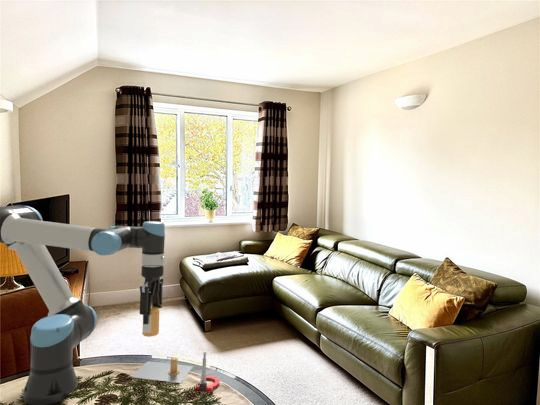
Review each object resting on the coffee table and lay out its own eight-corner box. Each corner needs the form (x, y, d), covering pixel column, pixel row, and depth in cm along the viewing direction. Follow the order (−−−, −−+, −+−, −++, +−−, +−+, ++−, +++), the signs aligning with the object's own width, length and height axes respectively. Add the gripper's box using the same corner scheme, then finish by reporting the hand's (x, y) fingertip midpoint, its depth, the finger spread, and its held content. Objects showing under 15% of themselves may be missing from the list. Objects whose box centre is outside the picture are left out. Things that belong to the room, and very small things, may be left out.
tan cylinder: (140, 335, 129) (141, 310, 129) (147, 330, 135) (148, 305, 134) (154, 337, 129) (154, 311, 128) (160, 331, 134) (161, 307, 134)
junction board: (130, 381, 127) (131, 362, 127) (147, 365, 139) (147, 348, 138) (180, 387, 124) (181, 368, 124) (193, 370, 136) (193, 353, 136)
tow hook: (199, 377, 132) (189, 390, 123) (201, 341, 132) (191, 351, 123) (222, 380, 130) (214, 393, 121) (223, 344, 131) (216, 354, 121)
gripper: (150, 271, 121) (148, 340, 122) (173, 261, 139) (171, 321, 140) (129, 269, 122) (127, 338, 123) (154, 259, 140) (152, 319, 141)
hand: (150, 329), depth 132 cm, fingers closed on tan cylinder, 5 cm apart
